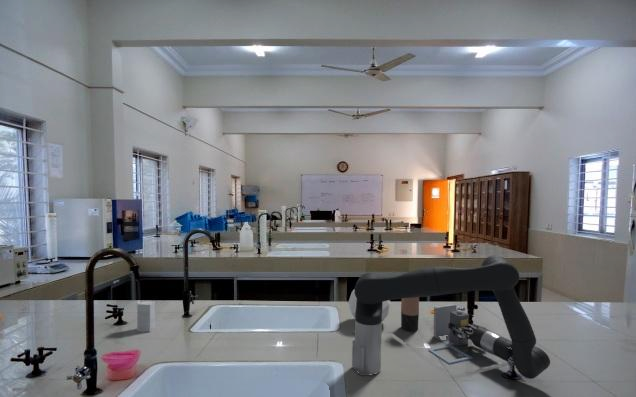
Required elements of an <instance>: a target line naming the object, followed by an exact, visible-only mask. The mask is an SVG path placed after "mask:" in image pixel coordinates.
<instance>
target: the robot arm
mask: <svg viewBox="0 0 636 397" xmlns="http://www.w3.org/2000/svg"><path fill="white" fill-rule="evenodd" d="M519 281H520V273H519V271H518V270H517V268H516V267H515V266H514V265H513V263H511V262H510V261H509V260H508V259H507V258H505V257H503V256H500V255H489V256H487V257H486V258H485V259H484V260H483V262H482V264H481V266H478V267H472V268H471V267H470V268H469V267H468V268H462V267H453V266H441V265H440V266H429V267H423V268H417V269H413V270H411V271H410V270H409V271H407V272H405V273H402V274H400V275H396V276H392V277H390V276H389V277H380V276H378V275H377V274H375V273H372V272H365V273H364V274H361V275H360V276H359V278H358V280H357V281H356V283H355V286H354V289H353V290H354V293H355V296H356V298H357V303H356V312H355V317H354V321H355V322H354V325H355V326H354V340H352V343H351V344H352V346H351V347H352V348H351V350H352V351H351V352H352V353H351V358H352V359H351V366H353V367H354V368H355V369H356V370H357V371H358V372H359V373H360V374H375V373H378V372H379V371H380V369H382V366H381V365H382V326H383V325H382V324H383V321H382V302H384V301H388V300H389V301H392V300H393V301H394V300H399V299H400V300H401V299H402V298H414V297H419V298H424V297H426V298H427V297H435V296H436V297H437V296H442V295H443V296H444V295H450V294H460V293H465V292H468V293H469V292H481V291H482V292H485V291H487V292H488V291H492V292H493V294H494V296H495V299H496V301H497V304H498V306H499V308H500V312H501V315H502V317H503V321H504V324H505V327H506V329H507V332H508V335H509V338H510V339H509V338H506V337H504V336H502V335H501V334H499V333H497V332H494V331H492V330H489V329H488V328H486V327H484V326H481V325H478V324H476V323H471V324H470V323H469V325H468V327H469V328H465V327H458V326H456V325H453V324H451V323H448V328H449V329H451V330H452V334H453V335H455V336H456V337H457V338H459V339H460V340H462V338H463V337H465V338H467V339H468V340H469V341H470V342H471V343H472V344H473V345H474V346H475V347H477V348H479V349H480V350H483V351H484V352H486V353H488V354H490V355H493V356H495V357H498V358H500V360H503V361H505V362H507V363H509V362H508V359H509V358H510V357H512V356H513V361H514V362H513V363H514V364H513V365H514V367H515V369H516V370H517V372H518V373H519V374H520V375H521V376H523V377H524V378H526V379H529V380H532V379H534V378H537V377H538V376H539V375H540V374H542V373H543V372H544V371H546V370H547V369H548V368H549V367H550V365H551V359H550V357H549V355H548V354H547V353H546V351H544V350H543V349H541V348H540V347H538V346H536V344H537V338H536V335H535V332H534V330H533V327H532V323H531V321H530V320H529V317H528V315H527V313H526V310H525V309H524V307H523V305H522V303H521V302H520V299H519V297H518V295H517V293H516V290H515V286H516V285H517V284H518V283H519ZM458 329H460V331H459V330H458ZM463 329H464V334H463ZM507 347H511V348H512V350H511V349H508V348H507ZM353 367H352V368H353ZM354 368H353V369H354ZM355 369H354V370H355ZM356 370H355V371H356ZM357 371H356V372H357ZM358 372H357V373H358ZM380 372H381V371H380ZM380 372H379V373H380ZM359 373H358V374H359ZM379 373H378V374H379ZM360 374H359V375H360Z"/></svg>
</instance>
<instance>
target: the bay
mask: <svg viewBox="0 0 636 397" xmlns="http://www.w3.org/2000/svg"><path fill="white" fill-rule="evenodd" d="M453 311H457V304H455V303H453V304H446V305H438V306H434V307H433V337H434V338H436V339H437V338H438V339H437V340H439V339H440V337H439V336H444V335H448V336H446V340H441V339H440V340H439V341H441V342H442V343H444V344H446V345H452V346H454V345H456V344H454V343H452V342H451V341H449V334H450V329H449V328H448V323H450V312H453ZM469 342H470V339H468V343H469Z"/></svg>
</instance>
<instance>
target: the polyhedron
mask: <svg viewBox="0 0 636 397" xmlns="http://www.w3.org/2000/svg"><path fill="white" fill-rule="evenodd" d="M356 303H357V298H356V296H355V293H354V289H353V290H352V291H351V294H350V296H349V299H348V302H347V304H348V306H349V309H350V312H351V315H352V316H353V318H355V312H356ZM390 307H391V300H388V301H384V302H382V322H383V321H385V319H386V318H387V317H388V315H389V313H390Z"/></svg>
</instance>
